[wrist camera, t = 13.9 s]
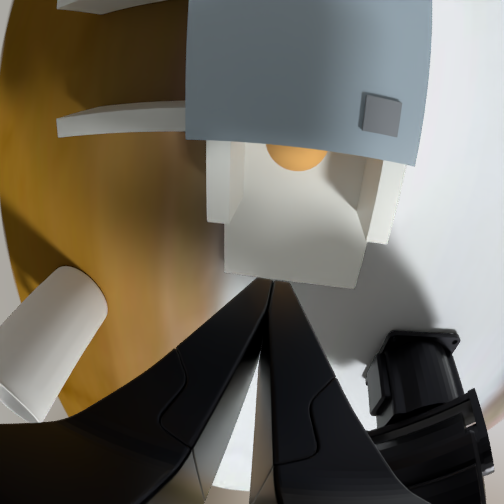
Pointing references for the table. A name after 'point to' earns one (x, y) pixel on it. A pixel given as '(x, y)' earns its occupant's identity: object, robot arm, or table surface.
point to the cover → (310, 74)
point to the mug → (47, 340)
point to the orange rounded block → (295, 157)
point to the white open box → (269, 192)
